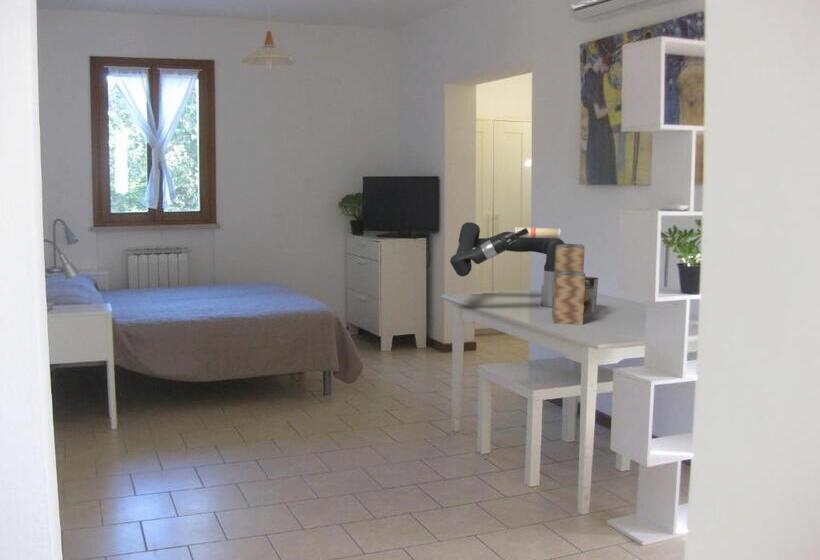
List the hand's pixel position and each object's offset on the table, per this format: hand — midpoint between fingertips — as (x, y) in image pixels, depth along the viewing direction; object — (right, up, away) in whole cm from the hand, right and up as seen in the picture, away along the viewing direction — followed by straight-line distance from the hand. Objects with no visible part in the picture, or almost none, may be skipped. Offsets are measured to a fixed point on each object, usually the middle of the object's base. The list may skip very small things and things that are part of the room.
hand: (527, 229), depth 392 cm
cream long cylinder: (+5, -4, 0) cm, 6 cm away
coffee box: (+31, -37, +28) cm, 56 cm away
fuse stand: (+18, -40, -1) cm, 44 cm away
